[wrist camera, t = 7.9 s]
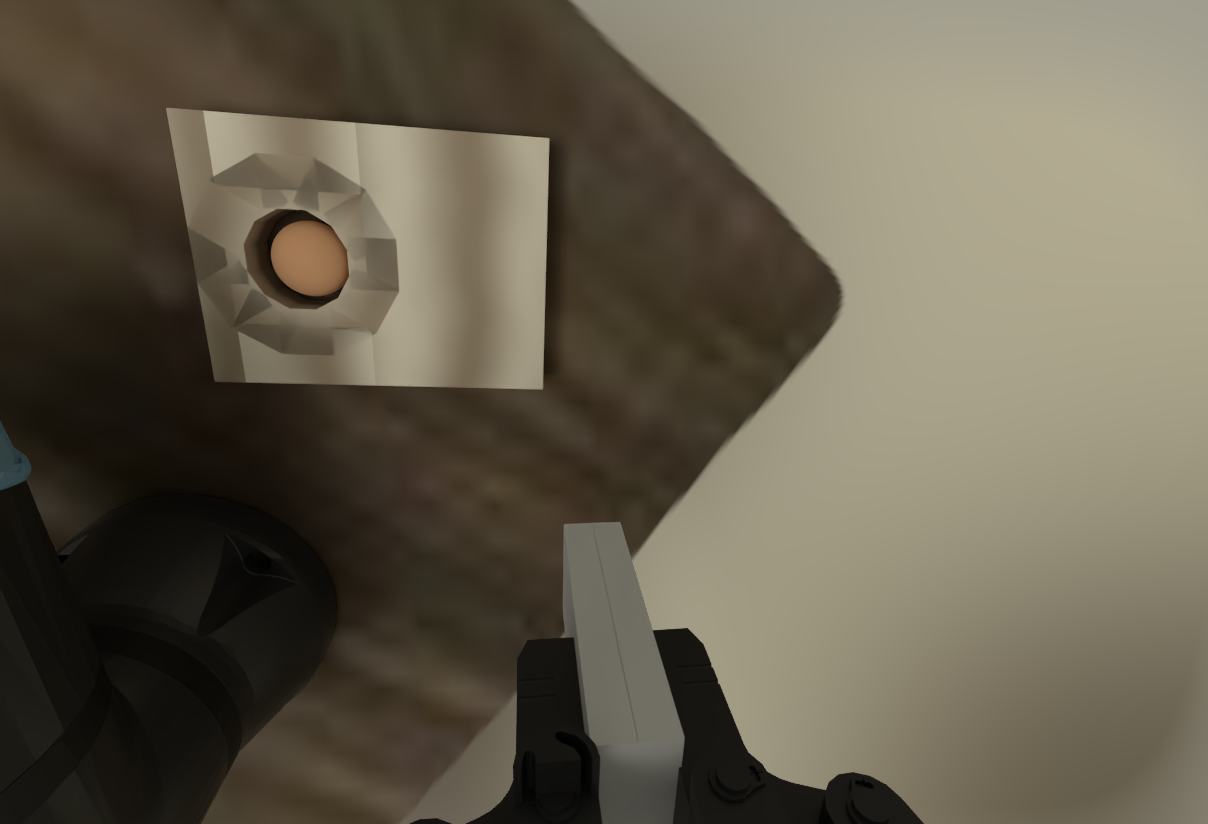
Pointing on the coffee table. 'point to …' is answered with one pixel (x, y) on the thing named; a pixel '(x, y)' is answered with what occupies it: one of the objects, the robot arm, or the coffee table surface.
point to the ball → (310, 258)
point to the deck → (369, 250)
